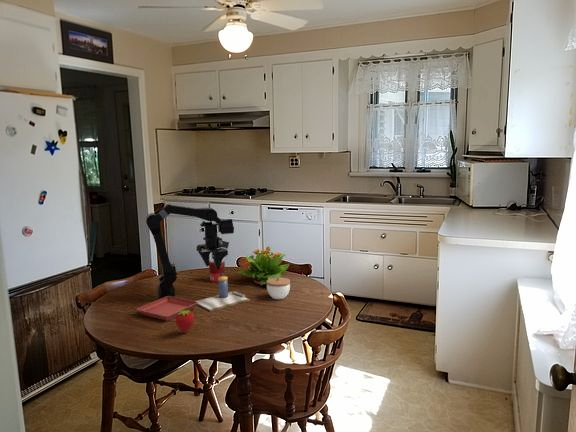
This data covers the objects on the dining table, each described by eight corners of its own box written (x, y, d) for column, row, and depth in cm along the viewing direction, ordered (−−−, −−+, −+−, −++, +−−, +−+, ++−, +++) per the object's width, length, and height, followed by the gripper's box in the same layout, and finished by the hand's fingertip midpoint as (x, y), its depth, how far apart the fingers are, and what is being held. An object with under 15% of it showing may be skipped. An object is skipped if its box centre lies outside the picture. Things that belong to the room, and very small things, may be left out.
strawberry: (199, 331, 164) (197, 305, 163) (183, 338, 158) (182, 311, 156) (187, 327, 167) (186, 302, 166) (172, 334, 161) (170, 308, 160)
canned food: (224, 282, 224) (223, 261, 222) (208, 283, 224) (207, 261, 222) (226, 278, 231) (225, 257, 230) (211, 278, 232) (210, 258, 230)
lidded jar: (262, 299, 198) (261, 278, 197) (274, 292, 207) (273, 272, 206) (283, 302, 193) (283, 281, 192) (294, 295, 202) (294, 275, 201)
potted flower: (230, 286, 218) (228, 251, 215) (248, 273, 240) (247, 241, 238) (278, 290, 210) (277, 254, 208) (292, 276, 233) (291, 243, 230)
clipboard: (210, 311, 184) (210, 308, 183) (192, 302, 195) (192, 299, 195) (249, 300, 196) (249, 296, 196) (231, 292, 208) (230, 289, 208)
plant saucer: (167, 324, 172) (167, 315, 172) (135, 316, 182) (135, 308, 181) (199, 309, 188) (198, 301, 187) (168, 302, 197) (167, 295, 196)
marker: (222, 298, 197) (221, 279, 196) (217, 296, 200) (216, 277, 199) (230, 296, 200) (229, 277, 198) (225, 294, 203) (224, 275, 201)
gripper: (237, 235, 202) (238, 268, 204) (215, 230, 216) (216, 261, 218) (216, 238, 195) (217, 273, 197) (195, 233, 209) (196, 265, 211)
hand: (212, 268), depth 206 cm, fingers open, 9 cm apart
